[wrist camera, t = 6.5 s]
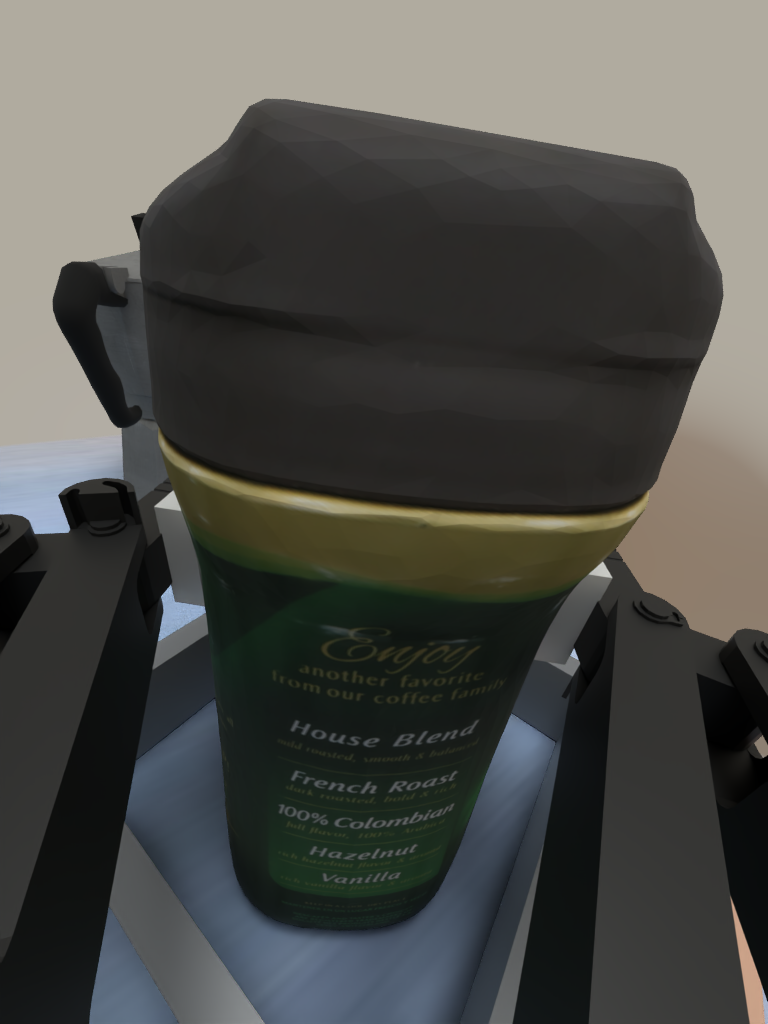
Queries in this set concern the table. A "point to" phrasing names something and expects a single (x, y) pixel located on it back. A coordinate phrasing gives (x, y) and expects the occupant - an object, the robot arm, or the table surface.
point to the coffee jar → (401, 458)
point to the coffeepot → (115, 353)
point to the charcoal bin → (179, 942)
